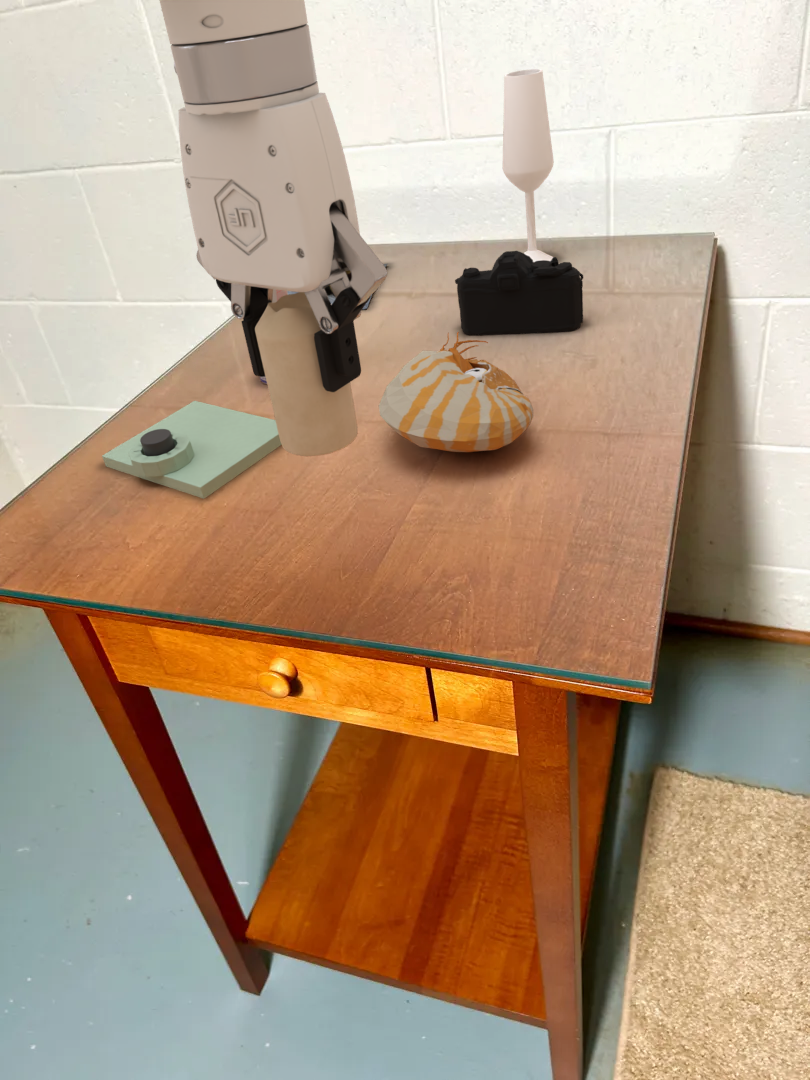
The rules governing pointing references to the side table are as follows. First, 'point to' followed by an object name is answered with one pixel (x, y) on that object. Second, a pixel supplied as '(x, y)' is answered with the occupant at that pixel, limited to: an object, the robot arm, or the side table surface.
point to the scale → (199, 448)
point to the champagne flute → (527, 142)
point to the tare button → (157, 442)
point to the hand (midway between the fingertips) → (307, 373)
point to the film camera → (520, 297)
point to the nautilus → (455, 403)
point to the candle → (302, 382)
